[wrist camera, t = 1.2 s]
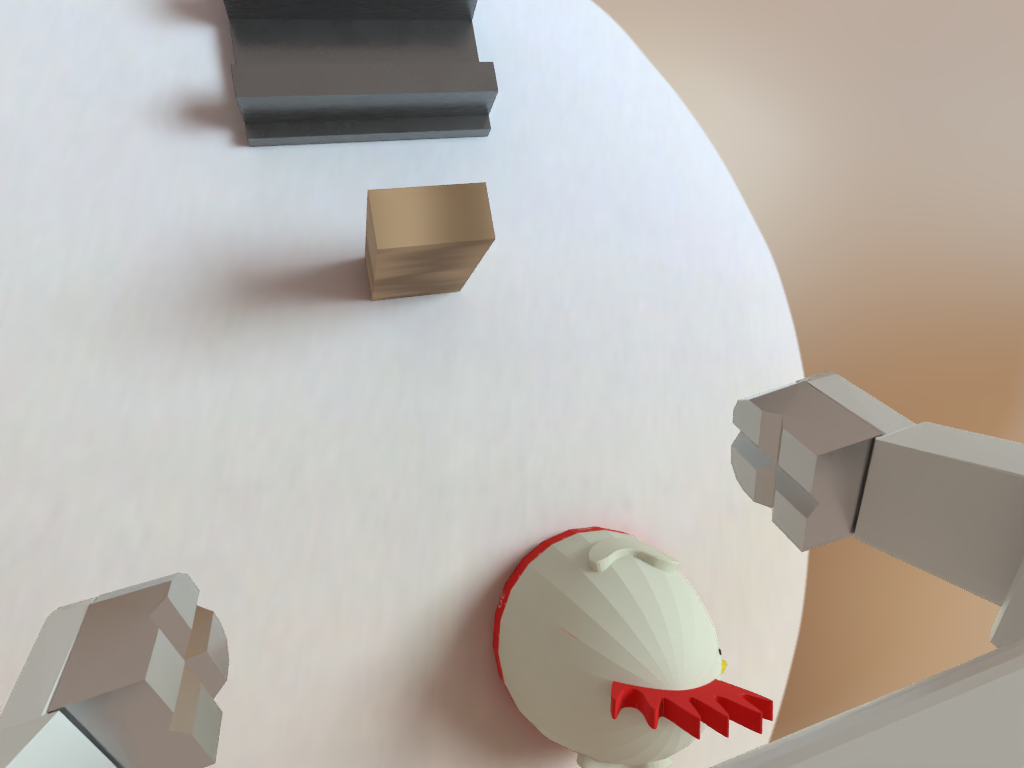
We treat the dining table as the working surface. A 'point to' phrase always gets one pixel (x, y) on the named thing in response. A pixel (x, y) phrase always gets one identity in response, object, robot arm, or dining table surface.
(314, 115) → the door track
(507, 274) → the dining table surface
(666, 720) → the kitchen timer
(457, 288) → the wooden block
